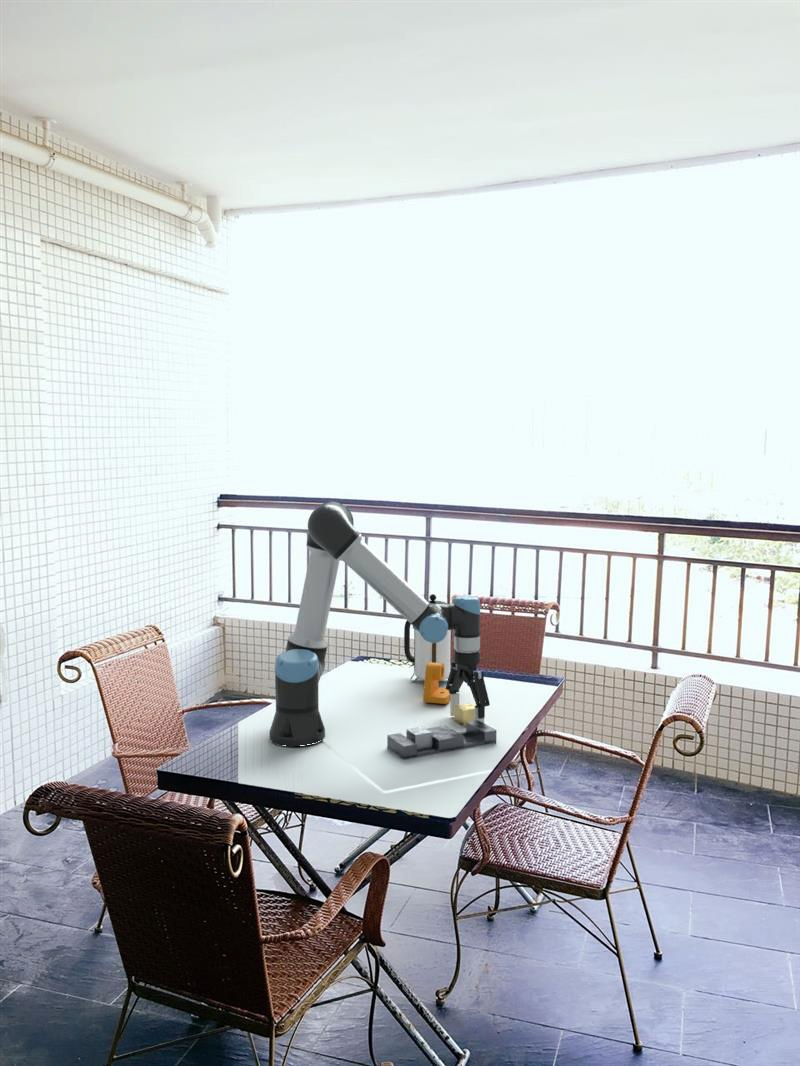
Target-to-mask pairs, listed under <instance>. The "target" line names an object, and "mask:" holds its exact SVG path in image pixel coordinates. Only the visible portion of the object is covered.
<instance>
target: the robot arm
mask: <svg viewBox="0 0 800 1066" xmlns="http://www.w3.org/2000/svg"><path fill="white" fill-rule="evenodd" d="M307 531H308V536H307V540H306V541H307V542H306V548H307V549H308V550H309V557H308V558H309V559H308V562H307V563H308V564H307V568H306V573H305V578H304V584H303V589H302V593H301V598H300V604H299V608H298V613H297V617H296V618H297V619H296V624H295V630H294V633H292V634H290V635H289V636H288V637H287V642H286V646H285V651H284V652H283V651H282V652H281V653H279V654H278V655H277V657H276V658H275V662H274V663H275V664H274V673H275V676H274V677H275V712H274V716H273V720H272V721H271V722H272V723H271V726H270V729H269V741H270V740H271V741H272V742H273V743H272V742H271V741H270V742H271V743H272V744H274V743H275V744H274V745H276V744H279V745H278V746H280V745H286V746H300V745H307V744H312V743H316V742H318V741H320V740H324V739H325V738H326V728H325V724H324V722H323V718H322V715H321V713H320V709H319V682H320V679H321V677H322V675H323V673H324V670H325V667H326V656H327V651H328V645H329V644H328V642H327V641H326V640H325V635H326V629H327V624H328V619H329V614H330V610H331V604H332V600H333V595H334V589H335V585H336V580H337V577H338V576H337V575H338V571H339V565H340V561H343V563H345V564H346V566H348V567H349V568H350V570H352V571H353V572H354V573H355V574H357V575H358V576H359V578H361V579H362V580H363V581H364V582H365V583H366V584H367V585H368V586H369V587H370V588H371V589H372V590H374V592H376V593H377V594H378V595H379V596H380V597H381V598H382V599H383V600H384V601H386V602H387V603H388V604H389V605H390V606H391V607H392V608H393V609H394V610H396V611H397V613H399V614H400V615H401V616H402V617H403V618H404V619H405V620H406V621H409V622H410V623H411V626H412V629H413V630H414V629H415V630H418V631H419V632H420V634H421V636H422V637H423V639H424V640H426V641H427V642H430V643H438V642H440V641H442V640H443V639H444V638H445V636H446V635H447V631H448V630H451V631H452V630H453V649H454V651H453V661H451V670H450V674H449V677H448V679H447V681H446V684H445V688H446V690H449V693H450V702H449V705H450V706H449V707H450V709H449V710H450V712H449V713H450V714H449V715H450V717H454V706H456V705H460V693H459V692H460V689H461V687H462V685H463V683H466V685H467V686H468V687H469V689H470V691H471V694H472V697H473V700H474V702H475V705H474V706H475V720H479V721H480V722H482V723H484V724H485V717H486V716H485V715H486V714H485V711H486V709H485V708H486V707H490V705H491V703H490V700H489V694H488V691H487V687H486V683H485V680H484V679H485V677H484V671H483V670H479V671H478V669H477V666H478V665H479V664H481V651H480V649H481V600H480V599H479V597H477V596H475V595H469V594H468V595H467V594H466V595H464V594H463V595H457V596H455V597H454V598H453V602H452V603H447V604H429V603H428V602H427V601H428V600H426V599H425V598H424V597H423V596H422V595H421V594H420V593H419V592H418V591H417V590H415V589H414V588H413V587H412V585H410V584H409V583H408V582H407V581H406V580H405V579H404V578H403V577H402V576H401V575H400V574H399V573H397V571H395V570H394V569H393V568H392V567H391V566H390V565H389V564H388V563H387V562H386V561H385V560H384V559H382V558H381V557H380V556H379V555H378V554H377V552H375V551H374V550H373V549H372V548H371V547H369V546H368V545H367V543H365V542H364V541H363V540H362V538H363V537H362V533H360V532H359V531H358V530H357V529H356V527H354V517H353V513H352V512H351V510H350V509H349V508H348V507H347V506H346V505H344V504H342V503H340V502H338V501H326V502H323V503H321V504H320V505H318V506H317V507H316V508H315V509H314V510H313V511H312V512H311V513H310V515H309V517H308V521H307Z"/></svg>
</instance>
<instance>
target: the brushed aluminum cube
mask: <svg viewBox="0 0 800 1066" xmlns="http://www.w3.org/2000/svg"><path fill="white" fill-rule="evenodd" d="M405 737H407V738H408V739H410V740H411V741H413V742H414V743H416V744H417V752H420V751H426V750H431V749H432V732H431V731H430V730H428V729H427V727H425V726H419V727H418V726H417V727H412V728H407V729H406V736H405Z"/></svg>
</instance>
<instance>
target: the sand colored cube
mask: <svg viewBox="0 0 800 1066" xmlns="http://www.w3.org/2000/svg"><path fill="white" fill-rule="evenodd" d="M475 706H476V705H473V704H472V703H463V704H459V705H456V706H454V716H453V717H454V719H453V721H454V722H455V723H457V724H458V725H460V726H462V727H464V728H466V722H469V721H474V720H475Z"/></svg>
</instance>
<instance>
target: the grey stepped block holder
mask: <svg viewBox="0 0 800 1066" xmlns="http://www.w3.org/2000/svg"><path fill="white" fill-rule="evenodd" d="M426 729H428V730H430V731H431V732H432V749H431V750H426V751H420V752H417V744H416V743H414V742H413V741H411V740H410V739H408V738H407V737H406V736H405V735H404V734H402V733H401V732H398V733H393V734H388V735H387V737H386V738H387V741H386V742H387V746H386V747H387V749H388V750H390V751H391V752H393V753H394V754H395V755H396V756H398V757H399V758H401V759H402V760H409V759H410V760H411V759H413V758H419V757H420V758H421V757H425V756H432V755H436V754H442V753H447V752H452V751H458V750H463V749H468V748H469V749H470V748H474V747H479V746H484V745H485V746H486V745H490V744H494V745H497V732H498V730H497V729H496V728H493V727H492V726H490V725H487V724H486V723H485V722H484V723H482V722H480V721H479V720H474V721H469V722H466V727H465V730H464V731H460V732H458V731H456V730H455V729H453V728H451V727H450V726H447V725H440V726H434V727H426Z"/></svg>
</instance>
